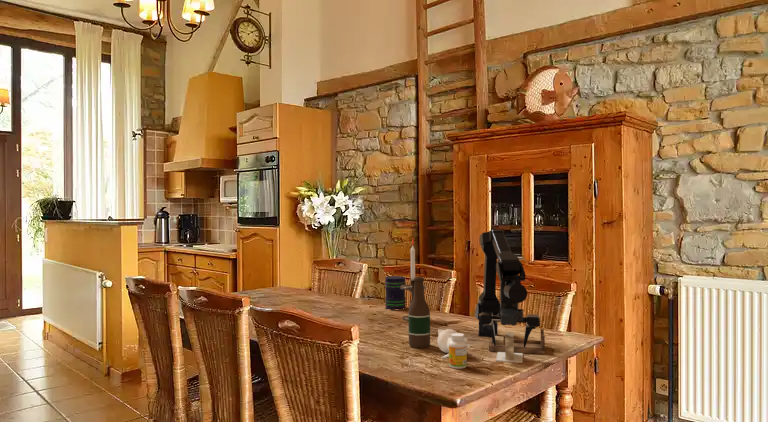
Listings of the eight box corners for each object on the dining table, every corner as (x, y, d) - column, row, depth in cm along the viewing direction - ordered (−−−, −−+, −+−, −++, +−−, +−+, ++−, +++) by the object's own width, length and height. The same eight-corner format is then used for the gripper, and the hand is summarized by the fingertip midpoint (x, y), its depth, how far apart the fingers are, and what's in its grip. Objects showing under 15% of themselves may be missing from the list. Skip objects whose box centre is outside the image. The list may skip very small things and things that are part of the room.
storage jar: (383, 310, 259) (383, 278, 259) (386, 306, 269) (386, 275, 269) (404, 310, 258) (404, 278, 258) (407, 306, 267) (406, 276, 267)
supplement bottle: (447, 364, 169) (447, 332, 169) (464, 363, 170) (464, 332, 170) (450, 369, 164) (450, 336, 164) (468, 368, 164) (468, 336, 164)
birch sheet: (505, 359, 172) (505, 337, 172) (506, 353, 180) (506, 331, 180) (513, 360, 171) (513, 337, 171) (513, 353, 179) (513, 332, 179)
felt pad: (496, 361, 172) (496, 360, 172) (497, 353, 181) (497, 351, 181) (522, 362, 170) (522, 361, 170) (522, 354, 179) (522, 353, 179)
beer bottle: (432, 343, 194) (432, 276, 194) (427, 349, 187) (426, 278, 187) (411, 342, 197) (411, 275, 197) (405, 347, 190) (404, 278, 189)
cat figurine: (465, 329, 175) (445, 320, 186) (440, 350, 172) (422, 340, 183) (477, 350, 178) (456, 340, 188) (453, 371, 174) (434, 360, 185)
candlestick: (409, 315, 245) (409, 237, 245) (430, 318, 239) (430, 238, 238) (395, 320, 236) (395, 238, 236) (417, 323, 230) (416, 239, 230)
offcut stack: (492, 347, 185) (492, 340, 185) (493, 342, 192) (493, 335, 192) (503, 347, 184) (503, 340, 184) (504, 342, 191) (504, 335, 191)
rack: (488, 351, 184) (488, 333, 184) (490, 343, 194) (490, 326, 194) (544, 354, 180) (544, 335, 180) (543, 346, 189) (543, 329, 189)
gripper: (477, 300, 170) (477, 351, 170) (540, 302, 165) (540, 354, 165) (480, 295, 181) (480, 342, 181) (539, 296, 176) (539, 345, 176)
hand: (509, 346), depth 176 cm, fingers open, 9 cm apart
